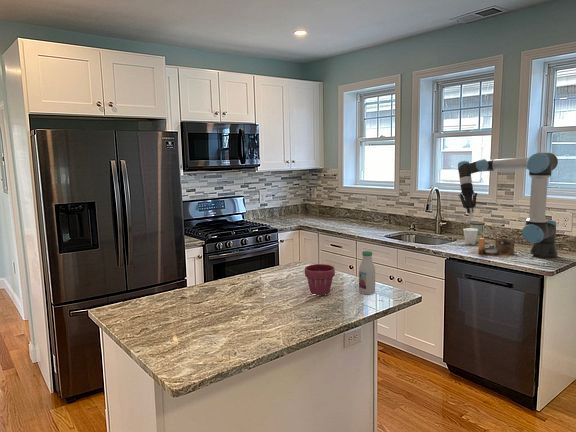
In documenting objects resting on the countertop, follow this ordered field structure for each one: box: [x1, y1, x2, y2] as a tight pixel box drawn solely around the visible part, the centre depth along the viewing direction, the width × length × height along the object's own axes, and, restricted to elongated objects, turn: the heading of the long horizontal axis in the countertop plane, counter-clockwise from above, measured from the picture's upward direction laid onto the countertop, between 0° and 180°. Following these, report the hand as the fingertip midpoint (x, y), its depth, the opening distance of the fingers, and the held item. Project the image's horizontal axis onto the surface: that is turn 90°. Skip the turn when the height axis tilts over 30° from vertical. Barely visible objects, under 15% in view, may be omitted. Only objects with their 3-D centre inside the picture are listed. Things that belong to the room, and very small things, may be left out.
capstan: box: [477, 237, 499, 255], centre depth 283 cm, size 11×12×10 cm
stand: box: [467, 237, 515, 259], centre depth 283 cm, size 24×17×10 cm
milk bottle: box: [358, 250, 376, 295], centre depth 211 cm, size 8×8×20 cm
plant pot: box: [304, 263, 336, 295], centre depth 211 cm, size 14×14×13 cm
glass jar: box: [469, 221, 486, 244], centre depth 327 cm, size 10×10×14 cm
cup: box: [462, 227, 478, 245], centre depth 316 cm, size 10×10×11 cm
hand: (471, 217), depth 296 cm, fingers closed
